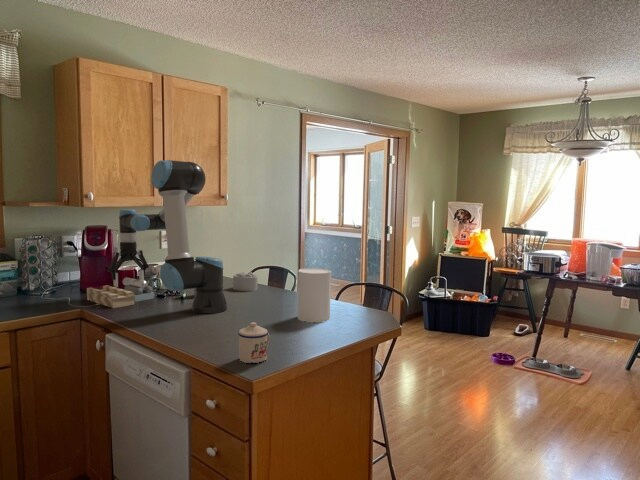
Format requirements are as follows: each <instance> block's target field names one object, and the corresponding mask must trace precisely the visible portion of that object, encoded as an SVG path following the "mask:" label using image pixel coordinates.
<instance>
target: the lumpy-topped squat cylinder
mask: <svg viewBox="0 0 640 480" xmlns="http://www.w3.org/2000/svg"><path fill="white" fill-rule="evenodd" d="M232 276H233V277H232V279H233V282H232V286H233V287H232V288H233V290H235V291H241V292H256V291H257V290H258V276H257V274H255V273H254V272H252V271H250V272H248V273H247V272H244V271H243V272H238V273H236V274H234V275H232Z"/></svg>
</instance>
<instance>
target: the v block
mask: <svg viewBox="0 0 640 480" xmlns="http://www.w3.org/2000/svg"><path fill="white" fill-rule="evenodd" d="M123 290H127V291H131V292H134V303H135V302H142V301H147V300H153V299H155V292H154V291H153V290H154V289H153V287H152V286H149V285H148V288H147V289H145V290H142V289H141V288H138V287H134V286H130V285H124V289H123Z"/></svg>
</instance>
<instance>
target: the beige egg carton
mask: <svg viewBox="0 0 640 480" xmlns="http://www.w3.org/2000/svg"><path fill="white" fill-rule="evenodd" d="M86 300H87V301H89V300H90V301H89V302H93V303H97V304H99V305H101V306H106V307H109V308H111V309H116V308H121V307H127V306H132V305H135V302H134V292H131V291H127V290H125V289H123V288H119V287H115V286H111V285H107V284H106V285H102V288H101V289H98V288H94V287H87V288H86Z"/></svg>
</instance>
